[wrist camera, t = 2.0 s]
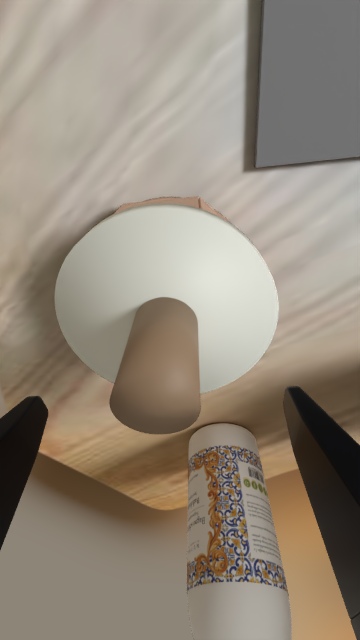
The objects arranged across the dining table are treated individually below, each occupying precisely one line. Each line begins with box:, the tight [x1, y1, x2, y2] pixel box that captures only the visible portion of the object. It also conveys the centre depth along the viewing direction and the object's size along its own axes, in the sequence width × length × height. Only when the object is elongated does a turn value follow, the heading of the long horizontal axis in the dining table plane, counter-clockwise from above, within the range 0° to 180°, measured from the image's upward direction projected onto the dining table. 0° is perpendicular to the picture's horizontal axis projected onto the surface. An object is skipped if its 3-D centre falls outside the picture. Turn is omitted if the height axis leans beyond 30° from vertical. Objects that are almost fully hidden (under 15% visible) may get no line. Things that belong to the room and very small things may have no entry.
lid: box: [54, 203, 279, 434], centre depth 12 cm, size 11×11×6 cm
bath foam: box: [187, 423, 291, 640], centre depth 20 cm, size 7×7×20 cm
